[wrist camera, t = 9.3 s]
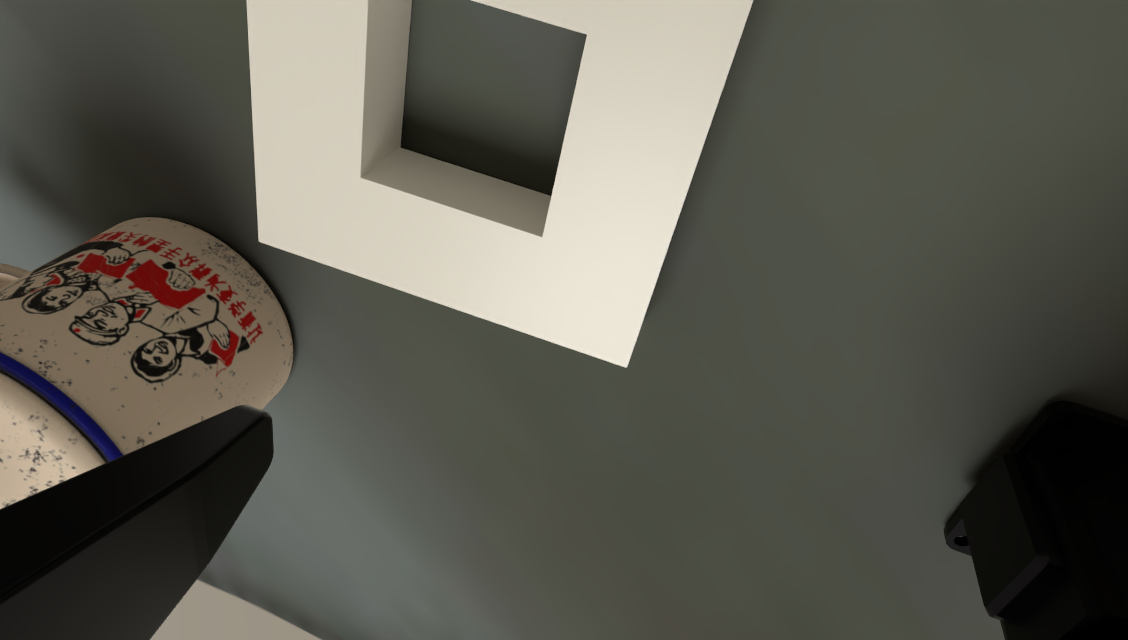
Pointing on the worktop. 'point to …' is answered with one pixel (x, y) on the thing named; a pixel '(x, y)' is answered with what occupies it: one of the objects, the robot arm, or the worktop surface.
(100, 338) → the teacup with lid
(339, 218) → the panel
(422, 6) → the worktop surface
